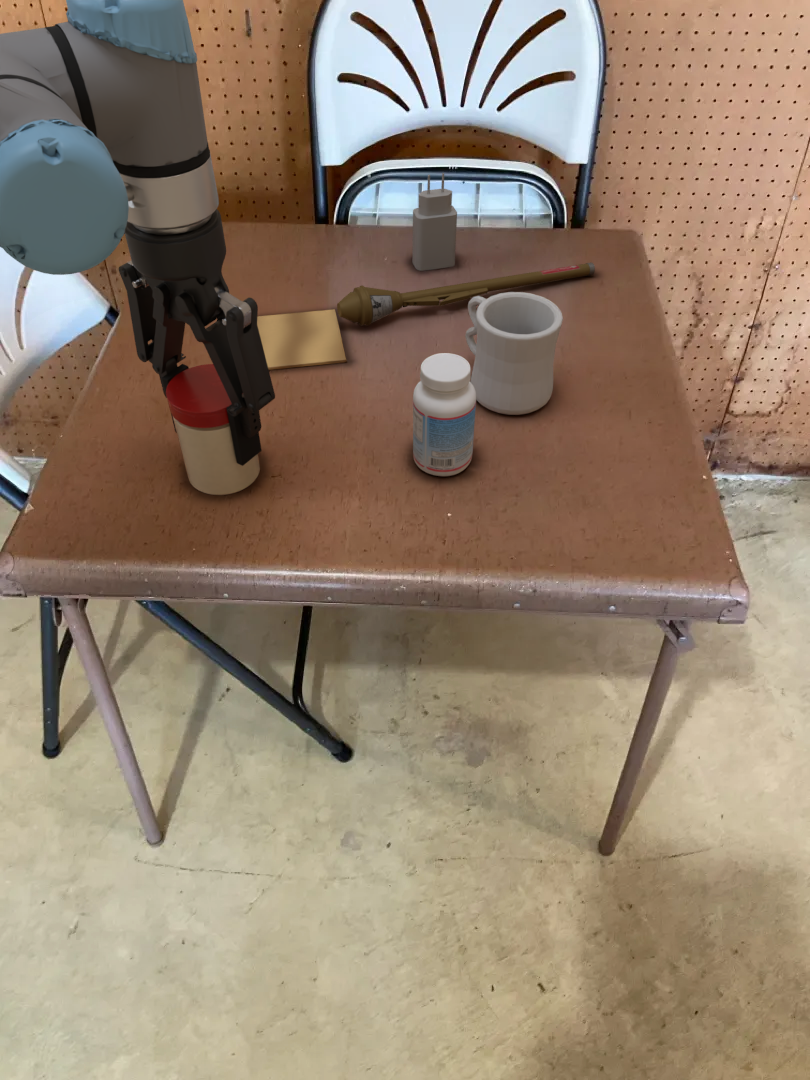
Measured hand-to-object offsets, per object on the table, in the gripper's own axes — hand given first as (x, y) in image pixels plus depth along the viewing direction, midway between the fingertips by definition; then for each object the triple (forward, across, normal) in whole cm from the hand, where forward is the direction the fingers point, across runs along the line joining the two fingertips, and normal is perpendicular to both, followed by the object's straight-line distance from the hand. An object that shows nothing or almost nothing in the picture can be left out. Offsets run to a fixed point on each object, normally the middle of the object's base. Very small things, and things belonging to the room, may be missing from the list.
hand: (218, 441), depth 82 cm
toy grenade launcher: (+4, +4, +42) cm, 42 cm away
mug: (+4, +16, +28) cm, 32 cm away
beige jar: (+4, 0, 0) cm, 4 cm away
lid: (-6, 0, 0) cm, 6 cm away
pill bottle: (+4, +17, +14) cm, 22 cm away
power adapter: (+4, -5, +47) cm, 47 cm away
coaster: (+4, -9, +22) cm, 24 cm away
